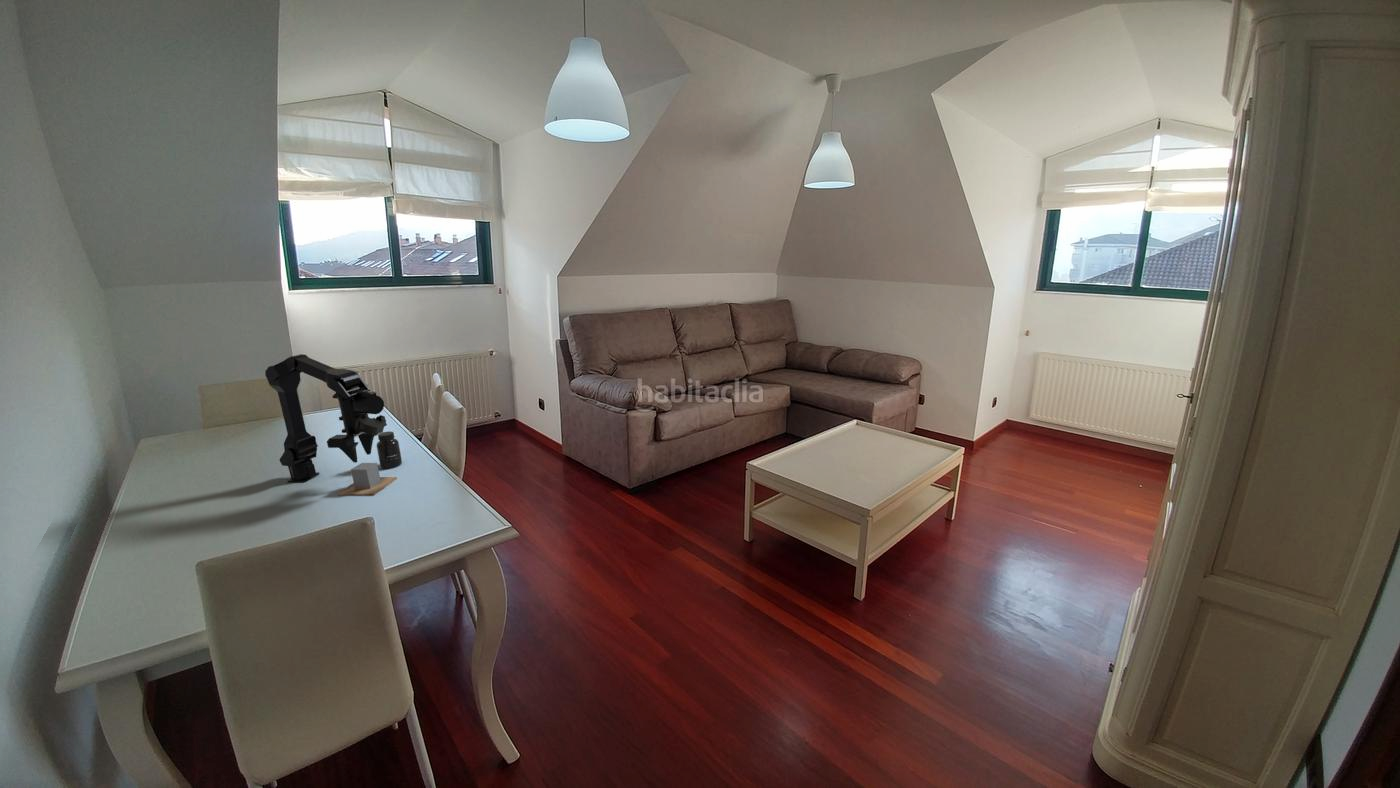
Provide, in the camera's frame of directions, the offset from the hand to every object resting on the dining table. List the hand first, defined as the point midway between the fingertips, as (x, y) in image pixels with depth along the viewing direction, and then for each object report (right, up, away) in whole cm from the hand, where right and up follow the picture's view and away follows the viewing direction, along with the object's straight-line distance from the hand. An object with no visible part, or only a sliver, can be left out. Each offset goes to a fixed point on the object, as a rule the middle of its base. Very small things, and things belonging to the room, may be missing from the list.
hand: (362, 458), depth 171 cm
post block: (0, -10, +3) cm, 10 cm away
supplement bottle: (-2, -5, +19) cm, 20 cm away
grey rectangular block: (0, -9, +3) cm, 9 cm away
